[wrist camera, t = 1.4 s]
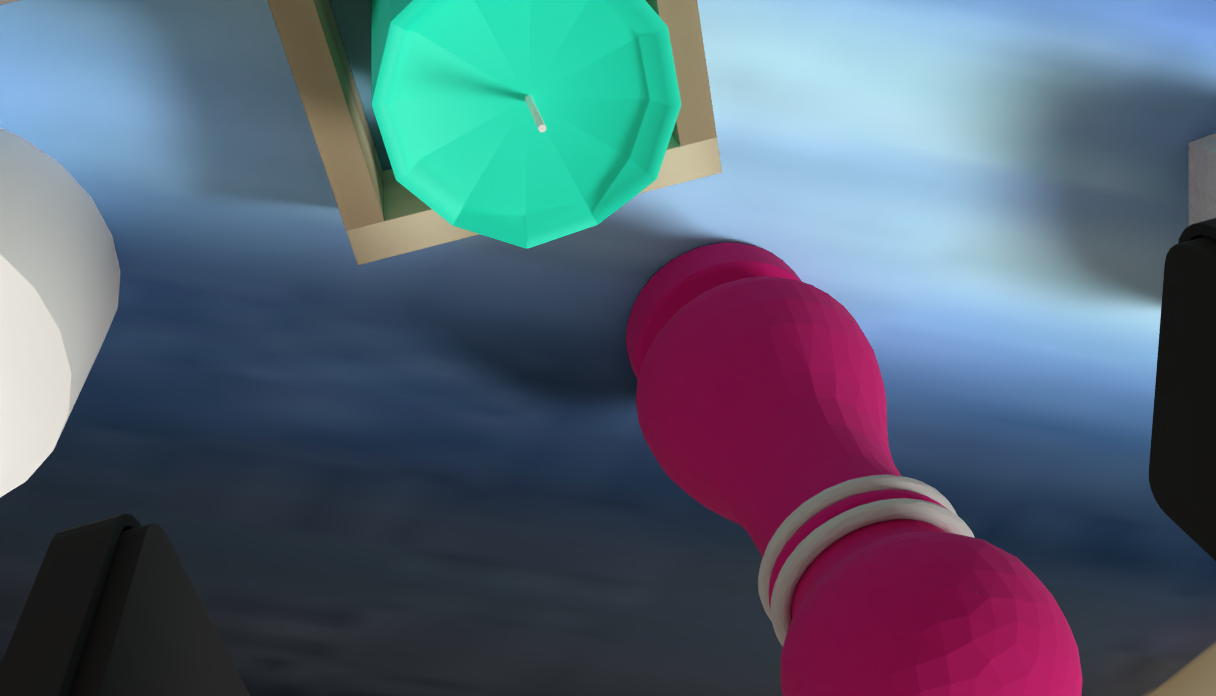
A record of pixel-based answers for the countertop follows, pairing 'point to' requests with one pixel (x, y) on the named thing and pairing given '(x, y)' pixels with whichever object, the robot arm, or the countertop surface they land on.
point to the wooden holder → (6, 1)
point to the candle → (523, 108)
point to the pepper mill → (829, 492)
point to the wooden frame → (373, 197)
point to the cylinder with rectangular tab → (46, 301)
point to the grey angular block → (1202, 179)
